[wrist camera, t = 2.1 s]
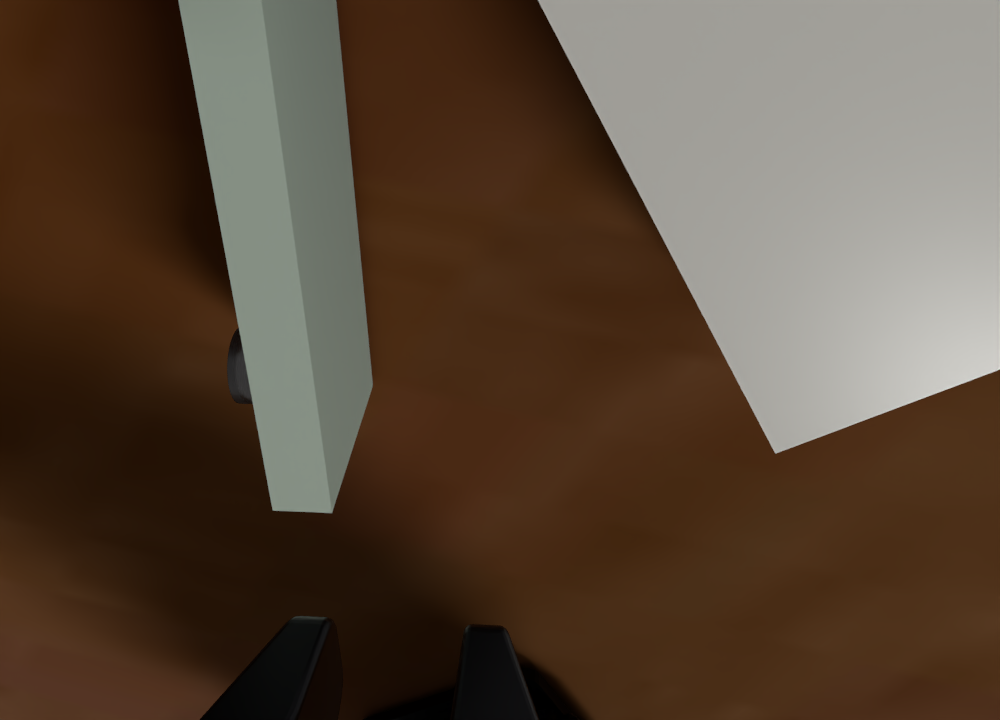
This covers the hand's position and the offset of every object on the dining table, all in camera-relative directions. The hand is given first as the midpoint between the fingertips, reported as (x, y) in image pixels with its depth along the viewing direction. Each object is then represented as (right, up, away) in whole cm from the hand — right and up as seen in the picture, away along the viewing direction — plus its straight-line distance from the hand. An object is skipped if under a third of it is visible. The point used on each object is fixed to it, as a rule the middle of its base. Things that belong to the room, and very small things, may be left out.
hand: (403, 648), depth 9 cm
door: (-3, +9, +8) cm, 13 cm away
